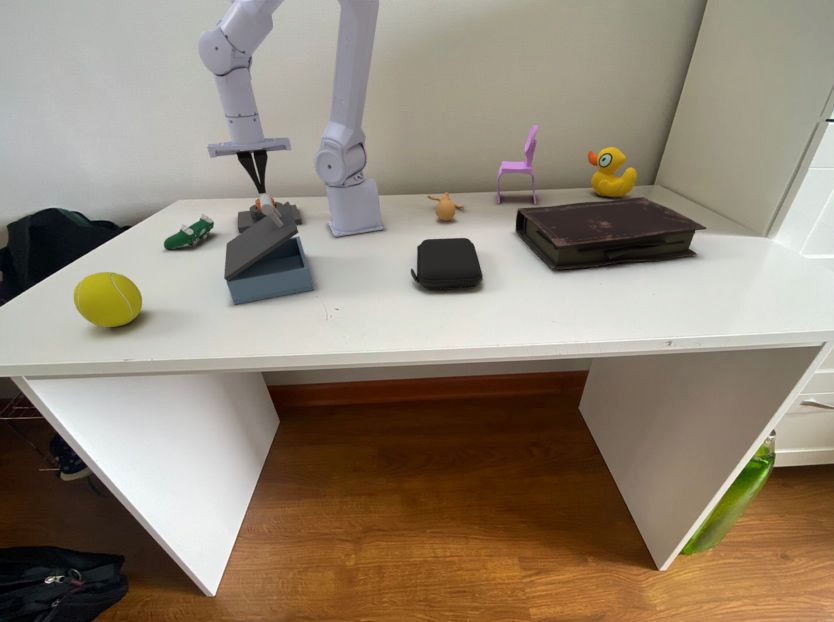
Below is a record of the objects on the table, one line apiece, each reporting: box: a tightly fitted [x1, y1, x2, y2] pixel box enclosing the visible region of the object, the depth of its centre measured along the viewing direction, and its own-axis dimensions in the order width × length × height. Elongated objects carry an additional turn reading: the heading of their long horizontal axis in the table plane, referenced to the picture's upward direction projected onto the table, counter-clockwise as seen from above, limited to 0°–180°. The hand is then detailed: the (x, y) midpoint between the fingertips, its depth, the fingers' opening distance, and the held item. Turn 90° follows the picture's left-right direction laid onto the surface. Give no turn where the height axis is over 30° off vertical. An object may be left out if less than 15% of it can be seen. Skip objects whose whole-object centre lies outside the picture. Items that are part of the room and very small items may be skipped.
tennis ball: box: [73, 271, 143, 328], centre depth 55 cm, size 7×7×7 cm
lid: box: [223, 193, 299, 282], centre depth 61 cm, size 12×13×4 cm
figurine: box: [426, 191, 465, 222], centre depth 87 cm, size 8×6×12 cm
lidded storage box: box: [226, 235, 314, 305], centre depth 65 cm, size 11×13×4 cm
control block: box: [237, 201, 303, 234], centre depth 86 cm, size 12×10×3 cm
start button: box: [254, 197, 276, 210], centre depth 85 cm, size 4×4×2 cm
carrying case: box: [410, 237, 484, 291], centre depth 66 cm, size 11×3×15 cm
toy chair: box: [496, 124, 539, 205], centre depth 90 cm, size 8×9×15 cm
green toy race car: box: [163, 213, 215, 250], centre depth 78 cm, size 9×4×6 cm
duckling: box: [587, 146, 638, 198], centre depth 92 cm, size 11×5×10 cm, turn 51°
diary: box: [515, 196, 707, 270], centre depth 72 cm, size 19×25×5 cm
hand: (262, 192), depth 84 cm, fingers closed
